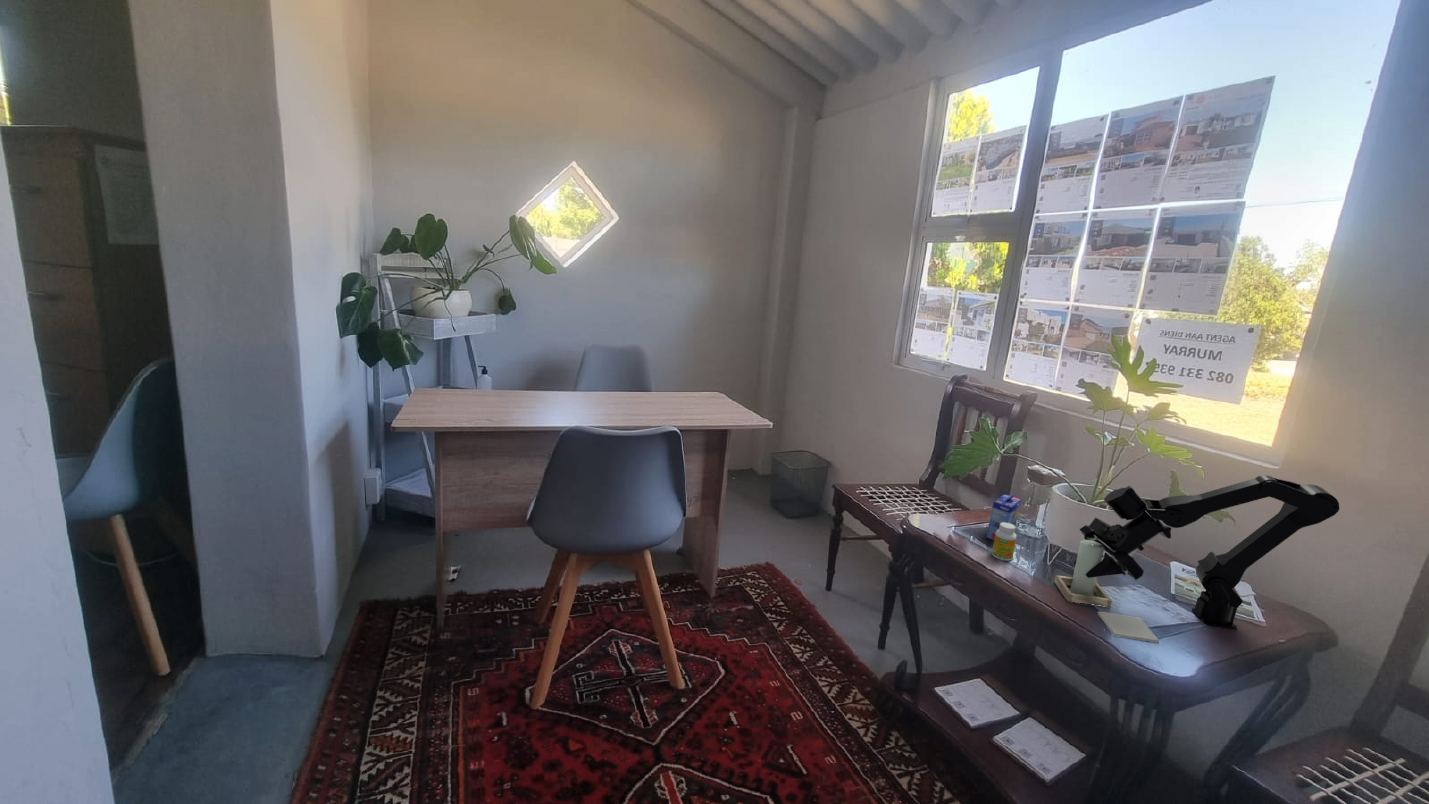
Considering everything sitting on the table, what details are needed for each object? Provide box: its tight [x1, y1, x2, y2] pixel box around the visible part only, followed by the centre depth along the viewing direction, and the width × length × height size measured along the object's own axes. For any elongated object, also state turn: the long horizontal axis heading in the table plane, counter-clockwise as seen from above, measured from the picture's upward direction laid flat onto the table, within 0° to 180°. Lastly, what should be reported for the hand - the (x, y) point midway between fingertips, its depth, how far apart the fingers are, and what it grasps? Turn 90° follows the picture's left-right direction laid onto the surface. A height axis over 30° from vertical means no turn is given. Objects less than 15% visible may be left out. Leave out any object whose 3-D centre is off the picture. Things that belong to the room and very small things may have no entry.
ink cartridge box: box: [985, 492, 1022, 541], centre depth 178 cm, size 10×6×14 cm, turn 136°
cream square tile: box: [1097, 611, 1160, 644], centre depth 135 cm, size 9×9×1 cm
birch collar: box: [1053, 575, 1113, 609], centre depth 148 cm, size 10×10×2 cm
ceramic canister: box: [1069, 539, 1105, 597], centre depth 147 cm, size 5×5×14 cm
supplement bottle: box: [991, 522, 1017, 562], centre depth 165 cm, size 5×5×10 cm
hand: (1080, 570), depth 147 cm, fingers closed on ceramic canister, 5 cm apart
